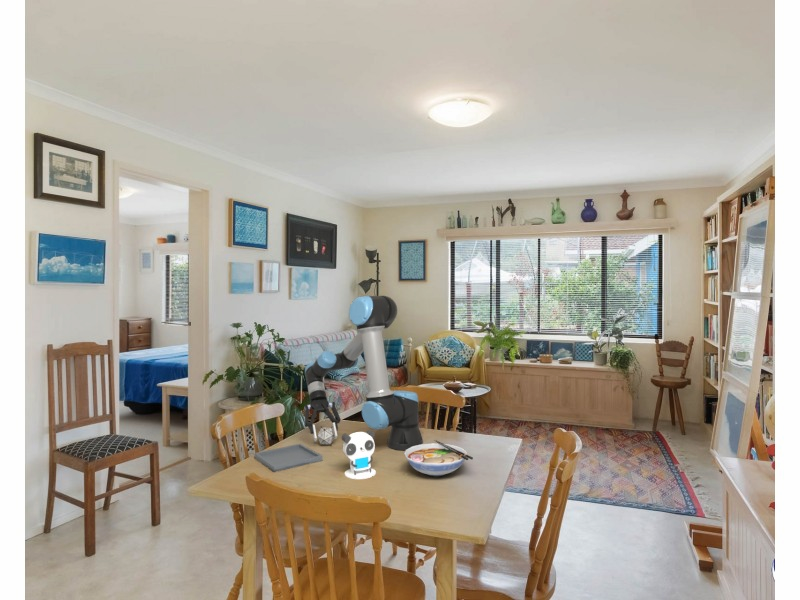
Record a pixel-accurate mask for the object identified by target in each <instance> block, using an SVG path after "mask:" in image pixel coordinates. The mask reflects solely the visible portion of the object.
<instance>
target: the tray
mask: <svg viewBox="0 0 800 600" xmlns="http://www.w3.org/2000/svg"><path fill="white" fill-rule="evenodd" d="M253 455H254V459H255V460H256V459H257V460H256V461H257V462H259V463H260V462H261V463H260V464H261V465H264V466H265V467H266V468H267V467H268V468H267V469H269V470H270V469H271V470H270V471H272V472H273V473H277V472H276V471H278V472H281V470H282V471H286V470H290V469H293V468H298V467H303V466H306V464H307V465H310V463H311V464H315V463H319V462H322V461H323V455H322V454H320V453H318V452H317V451H315V450H313V449H311V448H309V447H307V446H305V445H304V444H302V443H296V444H292V445H291V444H290V445H287V446H282V447H278V448H273V449H268V450H264V451H259V452H254V454H253Z"/></svg>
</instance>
